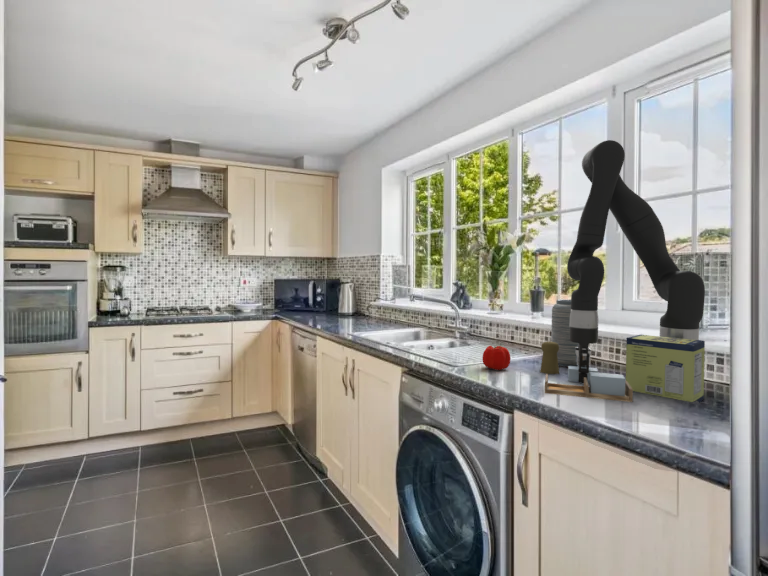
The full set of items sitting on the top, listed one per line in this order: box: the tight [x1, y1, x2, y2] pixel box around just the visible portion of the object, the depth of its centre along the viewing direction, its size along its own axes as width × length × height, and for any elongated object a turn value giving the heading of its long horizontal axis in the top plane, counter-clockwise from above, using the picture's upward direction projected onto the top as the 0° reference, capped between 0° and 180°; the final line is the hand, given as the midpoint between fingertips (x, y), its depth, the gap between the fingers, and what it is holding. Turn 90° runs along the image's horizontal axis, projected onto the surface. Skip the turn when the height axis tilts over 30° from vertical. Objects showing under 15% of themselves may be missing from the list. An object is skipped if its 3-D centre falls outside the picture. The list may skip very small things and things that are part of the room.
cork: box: [539, 340, 560, 375], centre depth 135 cm, size 6×6×11 cm
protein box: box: [625, 334, 706, 404], centre depth 113 cm, size 10×16×16 cm
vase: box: [550, 299, 578, 368], centre depth 153 cm, size 12×12×23 cm
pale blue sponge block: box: [589, 372, 626, 396], centre depth 110 cm, size 8×4×5 cm, turn 68°
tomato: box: [482, 345, 511, 371], centre depth 146 cm, size 9×9×8 cm
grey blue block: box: [567, 366, 599, 384], centre depth 125 cm, size 8×4×5 cm, turn 69°
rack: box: [544, 373, 634, 403], centre depth 112 cm, size 20×9×4 cm, turn 68°
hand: (582, 384), depth 125 cm, fingers closed on grey blue block, 4 cm apart
